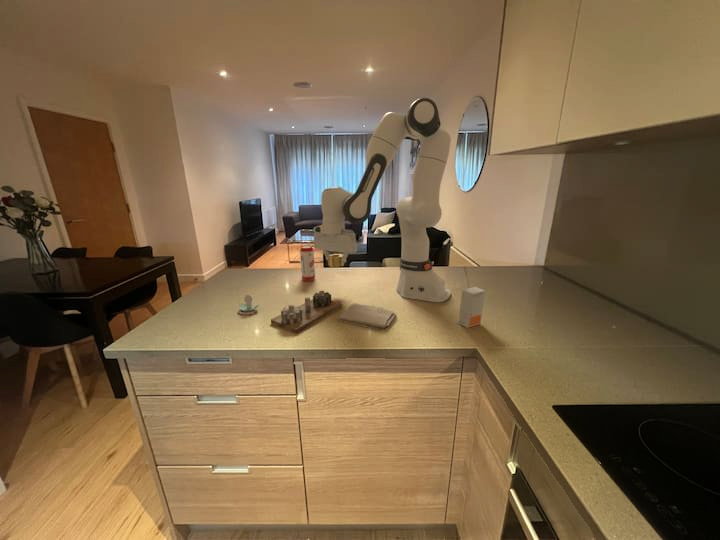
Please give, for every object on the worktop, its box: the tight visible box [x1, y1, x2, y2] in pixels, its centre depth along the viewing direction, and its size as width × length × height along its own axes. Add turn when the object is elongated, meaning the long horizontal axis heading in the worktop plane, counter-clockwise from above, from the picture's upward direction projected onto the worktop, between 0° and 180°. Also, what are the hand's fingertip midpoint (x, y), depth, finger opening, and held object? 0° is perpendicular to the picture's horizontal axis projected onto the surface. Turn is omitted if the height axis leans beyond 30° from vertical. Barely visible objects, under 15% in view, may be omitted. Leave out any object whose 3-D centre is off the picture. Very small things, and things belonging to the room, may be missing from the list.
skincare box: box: [457, 286, 486, 329], centre depth 94 cm, size 6×4×12 cm
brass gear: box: [327, 253, 345, 268], centre depth 121 cm, size 7×7×4 cm
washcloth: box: [337, 303, 397, 332], centre depth 99 cm, size 12×18×3 cm, turn 67°
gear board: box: [270, 290, 343, 335], centre depth 102 cm, size 12×23×6 cm, turn 146°
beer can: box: [299, 245, 316, 282], centre depth 137 cm, size 6×6×16 cm
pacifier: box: [237, 294, 260, 315], centre depth 105 cm, size 7×6×6 cm
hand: (336, 261), depth 121 cm, fingers closed on brass gear, 7 cm apart
